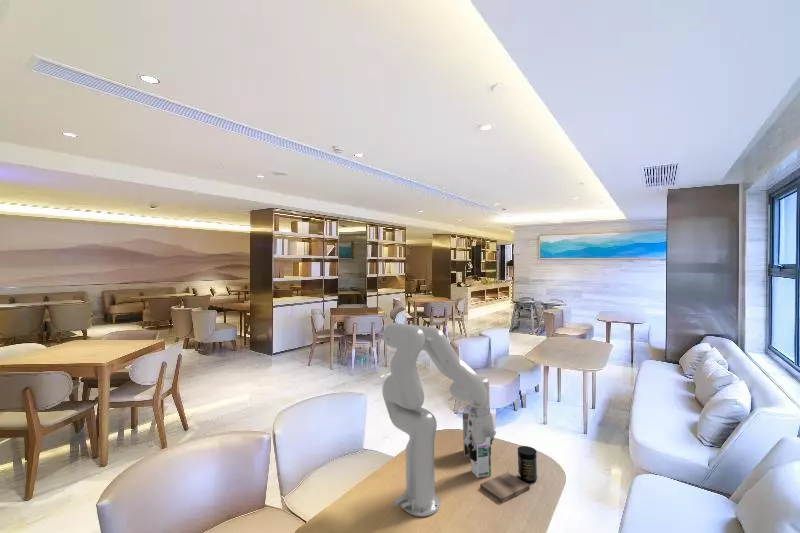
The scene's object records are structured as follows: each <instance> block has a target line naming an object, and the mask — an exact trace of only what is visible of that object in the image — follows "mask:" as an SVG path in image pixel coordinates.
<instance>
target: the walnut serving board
mask: <svg viewBox="0 0 800 533" xmlns="http://www.w3.org/2000/svg"><path fill="white" fill-rule="evenodd" d="M479 486H480V488H479V489H480V490H482V491H483V492H484V493H486V494H488V495H489V496H490V497H492V498H493V499H495V500H496V501H497V502H499V503H500V504H503V503H505V502H508V501H510V500H511V499H513V498H517V497H518V496H519V495H522V494H523V493H524V494H525V493H526V492H528V491H530V489H531V488H530V486H531V485H530V484H529V483H526V482H523V481H522V480H520V478H519V477H517V476H515V475H513V474H511V473H510V472H504V473H503V474H500V475H498V476H496V477H493V478H491V479H489V480H486V481H484V482H481V483H480V484H479Z"/></svg>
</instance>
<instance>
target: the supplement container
mask: <svg viewBox="0 0 800 533" xmlns="http://www.w3.org/2000/svg"><path fill="white" fill-rule="evenodd" d="M537 458H538V454H537V450H536V449H535V448H534V447H531V446H527V445H521V446H519V447H517V476H518V477H517V478H518V479H520V480H522V481H523V482H525V483H527V484H533V483H536V482H537V480H538V463H537V462H538V461H537V460H538V459H537Z"/></svg>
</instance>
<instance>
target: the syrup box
mask: <svg viewBox="0 0 800 533" xmlns="http://www.w3.org/2000/svg"><path fill="white" fill-rule="evenodd" d="M473 444H474V443H472V446H473ZM475 450H476V451H477V461H473V460H472V459H470V471H471V472H472V473H473V475H474V476H475V477H477V479H481V478H485V477H490V476H492V458H491V456H492V451H491V452H490V437H488V438H486V441H485V442H483V443H481V444H476V449H475Z"/></svg>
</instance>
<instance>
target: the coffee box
mask: <svg viewBox="0 0 800 533" xmlns="http://www.w3.org/2000/svg"><path fill="white" fill-rule="evenodd" d="M469 414H470V413H469V412H467V413H466V412H464V413H462V436H463V439H462V440H463V441H464V439H465V438H466V436H467V425H468V417H469ZM469 442H470V440H469ZM462 444H463V445H462V446H463V456H464V458H469V459H470V449H469V448H468V447H467V446H466V445H465V443H464V442H462Z"/></svg>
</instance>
